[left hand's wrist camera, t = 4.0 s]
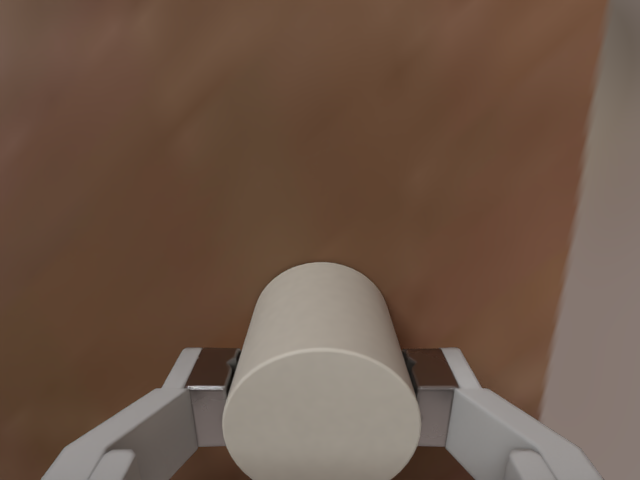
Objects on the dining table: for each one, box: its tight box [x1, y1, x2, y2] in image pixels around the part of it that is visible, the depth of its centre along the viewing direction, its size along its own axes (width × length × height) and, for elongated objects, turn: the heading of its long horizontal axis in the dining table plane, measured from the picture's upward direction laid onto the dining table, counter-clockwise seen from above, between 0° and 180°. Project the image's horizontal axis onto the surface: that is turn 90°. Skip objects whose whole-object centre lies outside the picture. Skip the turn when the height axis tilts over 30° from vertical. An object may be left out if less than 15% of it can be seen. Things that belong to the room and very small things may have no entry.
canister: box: [222, 262, 422, 480], centre depth 10 cm, size 4×4×4 cm
